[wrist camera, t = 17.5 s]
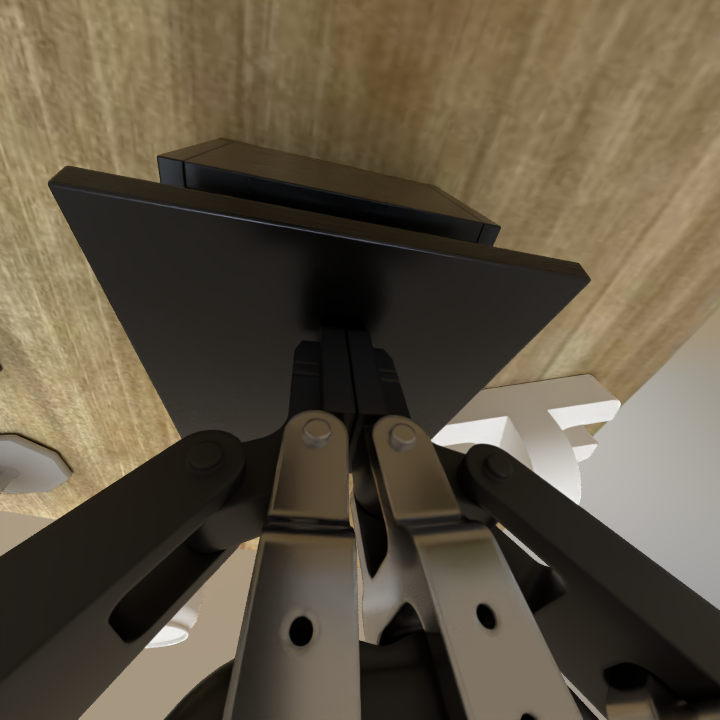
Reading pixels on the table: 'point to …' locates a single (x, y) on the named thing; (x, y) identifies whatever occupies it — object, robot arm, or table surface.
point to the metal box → (323, 189)
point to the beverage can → (180, 622)
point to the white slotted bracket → (536, 425)
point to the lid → (298, 298)
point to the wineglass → (29, 467)
